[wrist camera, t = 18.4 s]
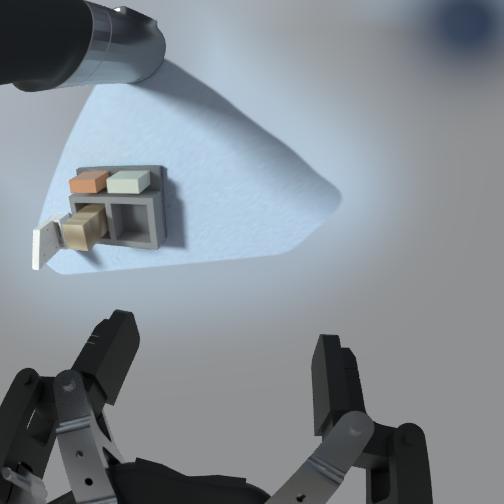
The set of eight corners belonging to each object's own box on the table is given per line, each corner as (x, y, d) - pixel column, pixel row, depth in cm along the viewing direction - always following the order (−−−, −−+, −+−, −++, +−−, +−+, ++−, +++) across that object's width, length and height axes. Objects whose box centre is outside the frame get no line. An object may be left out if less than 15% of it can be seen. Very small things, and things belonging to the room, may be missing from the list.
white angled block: (62, 266, 47) (32, 269, 38) (64, 214, 47) (35, 209, 38) (75, 267, 47) (45, 271, 38) (78, 213, 47) (48, 209, 38)
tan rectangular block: (90, 202, 41) (61, 224, 34) (109, 202, 41) (82, 225, 34) (94, 224, 43) (68, 248, 36) (113, 225, 43) (88, 251, 36)
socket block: (79, 167, 39) (61, 177, 35) (161, 165, 39) (147, 175, 34) (90, 230, 45) (75, 244, 41) (166, 236, 45) (155, 253, 40)
